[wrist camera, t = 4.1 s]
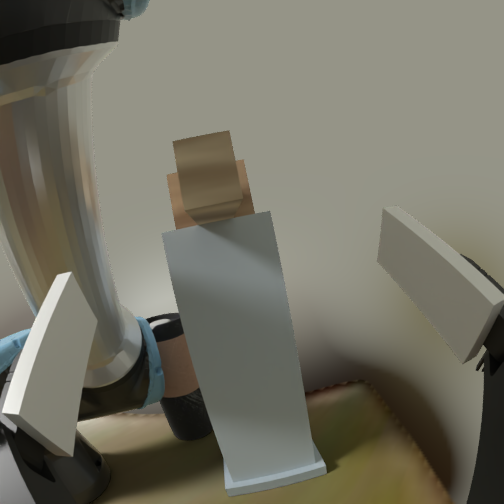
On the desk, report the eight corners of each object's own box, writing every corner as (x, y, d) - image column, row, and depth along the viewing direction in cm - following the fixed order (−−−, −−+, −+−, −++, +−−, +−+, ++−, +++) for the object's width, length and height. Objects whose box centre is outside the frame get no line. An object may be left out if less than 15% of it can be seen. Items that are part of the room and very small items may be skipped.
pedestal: (326, 473, 28) (282, 207, 26) (228, 496, 26) (148, 234, 25) (302, 425, 40) (263, 219, 38) (224, 443, 38) (170, 238, 37)
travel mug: (204, 412, 49) (175, 310, 48) (223, 429, 42) (190, 315, 41) (166, 426, 45) (131, 322, 44) (180, 446, 38) (140, 330, 37)
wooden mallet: (286, 190, 16) (263, 95, 16) (141, 220, 15) (128, 120, 15) (249, 221, 36) (239, 173, 36) (183, 234, 35) (174, 186, 35)
